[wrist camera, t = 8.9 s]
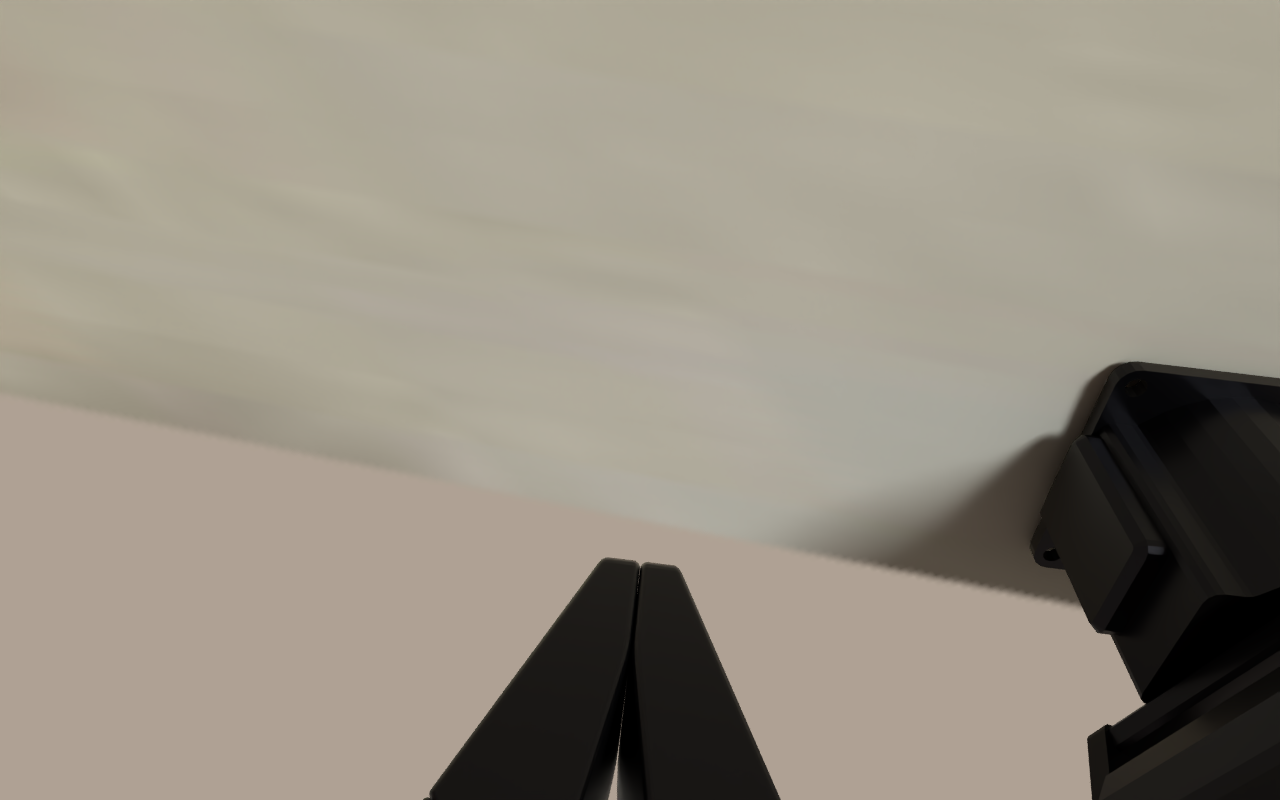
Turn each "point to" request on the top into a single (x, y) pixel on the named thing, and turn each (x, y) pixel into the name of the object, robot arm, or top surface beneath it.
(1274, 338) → the top surface
